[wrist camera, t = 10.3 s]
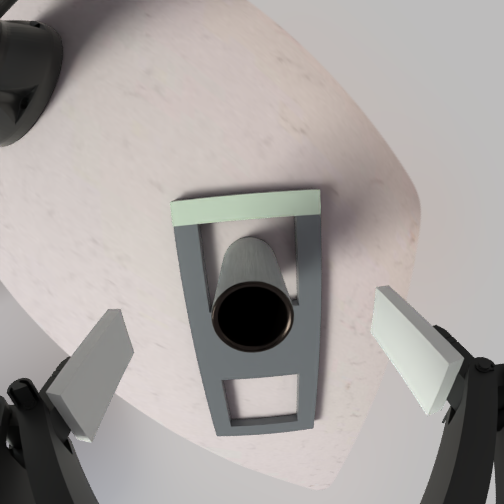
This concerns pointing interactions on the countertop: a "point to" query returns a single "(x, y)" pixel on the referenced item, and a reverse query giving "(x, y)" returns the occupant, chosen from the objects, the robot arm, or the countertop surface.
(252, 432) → the panel
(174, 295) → the countertop surface
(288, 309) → the grey hollow cylinder
